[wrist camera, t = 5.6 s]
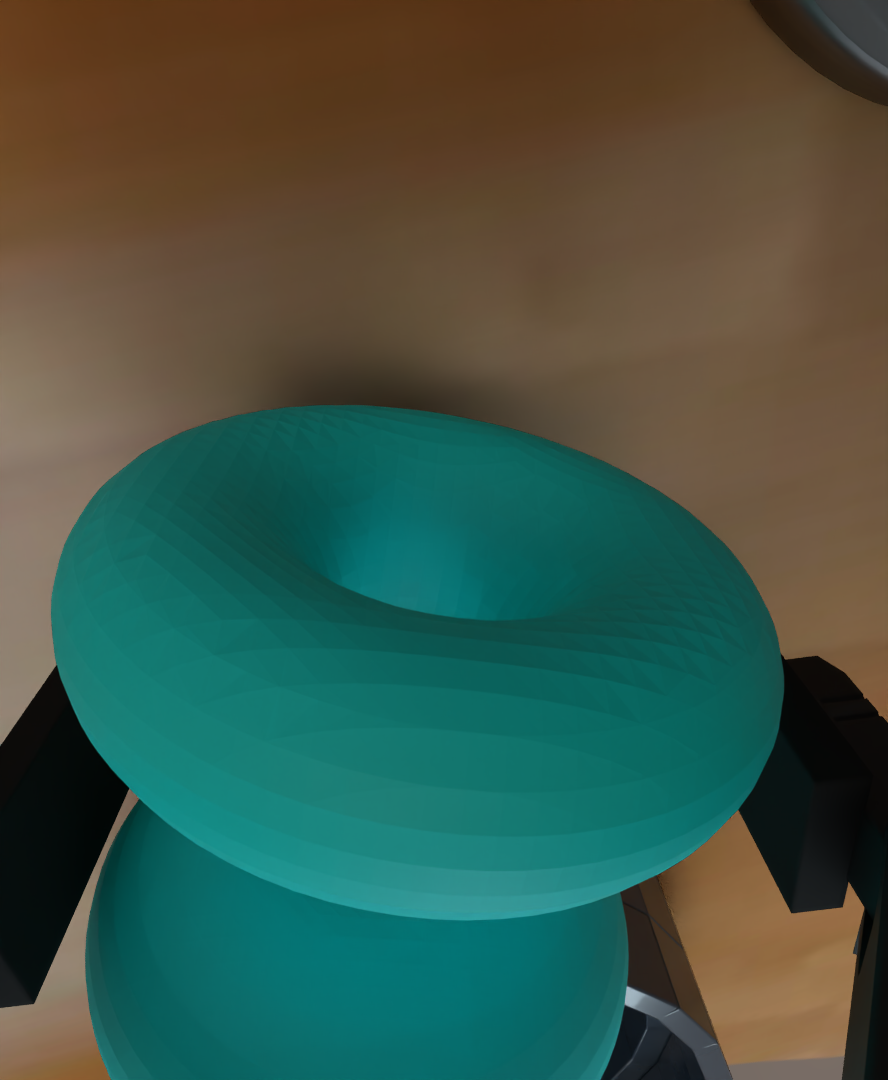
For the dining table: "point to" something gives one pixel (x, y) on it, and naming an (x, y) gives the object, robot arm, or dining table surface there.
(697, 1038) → the bowl
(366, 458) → the donuts
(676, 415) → the dining table surface
